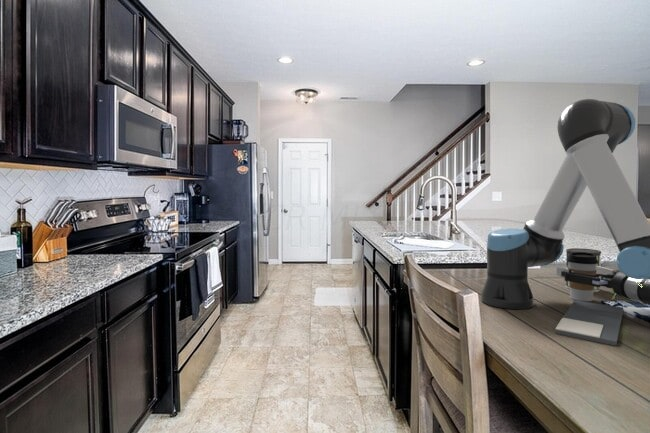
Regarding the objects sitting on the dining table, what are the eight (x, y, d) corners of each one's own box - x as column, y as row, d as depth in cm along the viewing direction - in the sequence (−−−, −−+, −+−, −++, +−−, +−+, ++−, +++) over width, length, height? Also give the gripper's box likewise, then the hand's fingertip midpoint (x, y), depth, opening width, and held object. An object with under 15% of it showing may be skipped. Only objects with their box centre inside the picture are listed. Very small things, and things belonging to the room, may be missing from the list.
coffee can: (559, 285, 137) (560, 248, 136) (588, 285, 136) (589, 248, 135) (575, 292, 127) (576, 252, 126) (607, 292, 126) (608, 252, 125)
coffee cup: (598, 298, 119) (600, 253, 118) (595, 304, 113) (596, 256, 112) (568, 293, 125) (569, 250, 124) (563, 299, 119) (564, 254, 118)
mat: (616, 345, 83) (616, 340, 82) (554, 333, 91) (555, 328, 90) (623, 310, 106) (623, 306, 106) (574, 303, 114) (574, 299, 114)
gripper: (591, 301, 99) (541, 282, 120) (677, 298, 100) (612, 280, 121) (592, 274, 99) (541, 260, 120) (678, 271, 100) (613, 258, 121)
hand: (577, 270), depth 121 cm, fingers open, 13 cm apart
